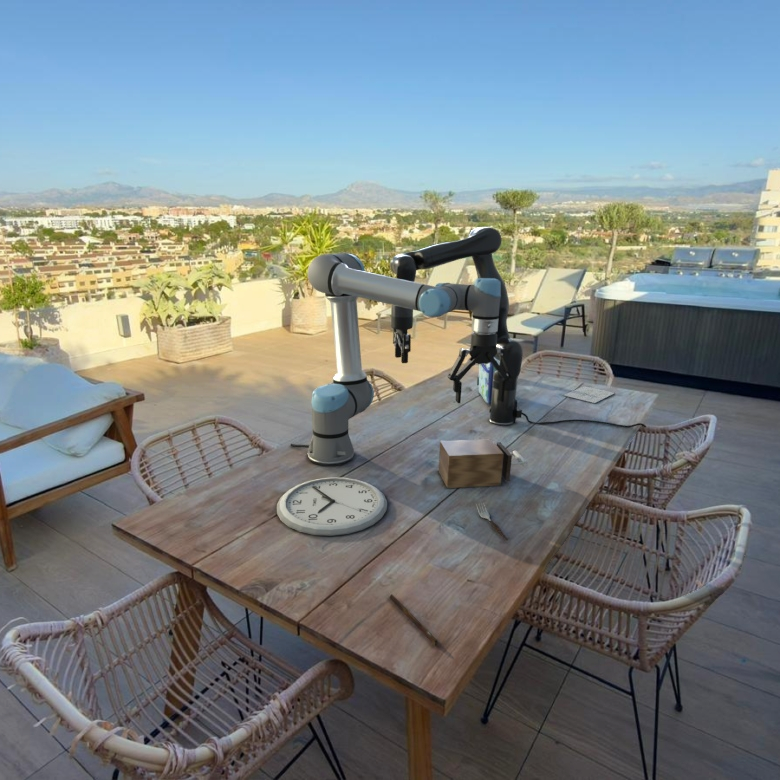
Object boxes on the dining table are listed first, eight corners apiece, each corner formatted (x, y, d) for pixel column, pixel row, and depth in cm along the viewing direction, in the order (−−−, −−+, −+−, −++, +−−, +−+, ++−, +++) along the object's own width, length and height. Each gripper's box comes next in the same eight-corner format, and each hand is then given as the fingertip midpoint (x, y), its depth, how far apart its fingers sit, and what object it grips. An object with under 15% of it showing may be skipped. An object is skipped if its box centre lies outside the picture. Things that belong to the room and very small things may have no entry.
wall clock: (392, 527, 129) (268, 531, 127) (391, 533, 130) (269, 537, 127) (383, 473, 158) (282, 475, 155) (383, 478, 158) (282, 480, 156)
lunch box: (475, 390, 246) (478, 346, 240) (498, 390, 246) (501, 347, 240) (484, 408, 221) (487, 360, 215) (509, 409, 221) (513, 360, 215)
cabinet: (488, 468, 166) (491, 438, 163) (500, 485, 156) (503, 453, 152) (438, 471, 164) (439, 440, 161) (447, 488, 153) (449, 455, 150)
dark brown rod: (389, 598, 107) (389, 594, 107) (391, 597, 107) (391, 593, 107) (435, 645, 95) (435, 641, 95) (437, 644, 96) (437, 640, 95)
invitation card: (584, 385, 255) (614, 392, 245) (584, 386, 255) (614, 393, 245) (563, 394, 240) (594, 402, 230) (563, 395, 240) (594, 403, 230)
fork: (502, 542, 127) (502, 535, 126) (474, 509, 141) (475, 503, 141) (511, 541, 127) (512, 534, 127) (483, 508, 142) (484, 502, 142)
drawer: (515, 465, 166) (517, 441, 164) (527, 480, 157) (530, 454, 155) (452, 468, 163) (453, 444, 161) (460, 483, 154) (462, 457, 152)
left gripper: (446, 335, 147) (443, 406, 154) (529, 334, 151) (523, 403, 158) (439, 330, 154) (436, 398, 161) (519, 329, 158) (513, 395, 165)
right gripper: (418, 317, 175) (417, 364, 179) (406, 311, 188) (405, 354, 193) (397, 318, 173) (396, 365, 178) (386, 311, 186) (386, 355, 191)
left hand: (479, 401), depth 159 cm, fingers open, 13 cm apart
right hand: (401, 360), depth 185 cm, fingers open, 8 cm apart
